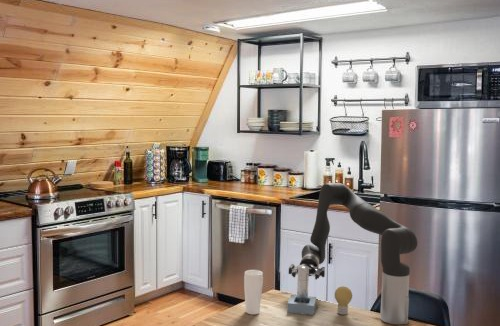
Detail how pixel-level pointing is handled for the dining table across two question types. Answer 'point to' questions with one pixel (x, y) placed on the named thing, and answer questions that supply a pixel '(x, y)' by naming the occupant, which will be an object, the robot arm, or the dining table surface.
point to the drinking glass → (253, 291)
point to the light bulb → (343, 299)
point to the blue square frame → (301, 305)
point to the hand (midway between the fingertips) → (305, 275)
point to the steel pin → (302, 284)
